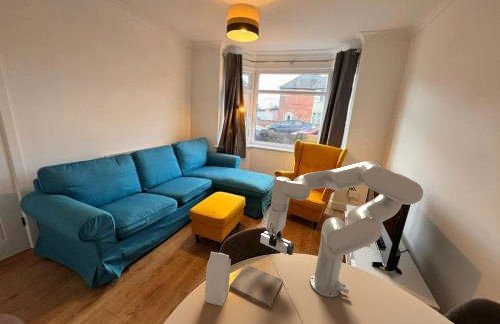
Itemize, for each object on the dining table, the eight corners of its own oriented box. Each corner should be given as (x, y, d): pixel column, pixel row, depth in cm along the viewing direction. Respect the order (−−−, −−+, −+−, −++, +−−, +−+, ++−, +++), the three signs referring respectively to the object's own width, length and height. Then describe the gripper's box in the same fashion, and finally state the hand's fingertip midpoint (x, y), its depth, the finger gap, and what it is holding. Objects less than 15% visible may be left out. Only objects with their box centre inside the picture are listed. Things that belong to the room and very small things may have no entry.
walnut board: (282, 282, 91) (283, 279, 91) (270, 309, 78) (270, 305, 77) (246, 266, 99) (246, 264, 98) (229, 288, 85) (229, 285, 85)
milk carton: (222, 306, 77) (226, 261, 73) (204, 302, 78) (207, 257, 74) (228, 291, 84) (231, 249, 80) (211, 287, 85) (214, 246, 81)
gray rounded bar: (294, 252, 91) (295, 243, 90) (290, 256, 87) (291, 248, 87) (264, 238, 99) (265, 231, 98) (260, 242, 95) (261, 234, 95)
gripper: (280, 197, 99) (275, 232, 102) (262, 208, 85) (257, 248, 89) (295, 202, 95) (289, 238, 98) (278, 214, 81) (273, 256, 85)
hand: (274, 242), depth 93 cm, fingers closed on gray rounded bar, 4 cm apart
